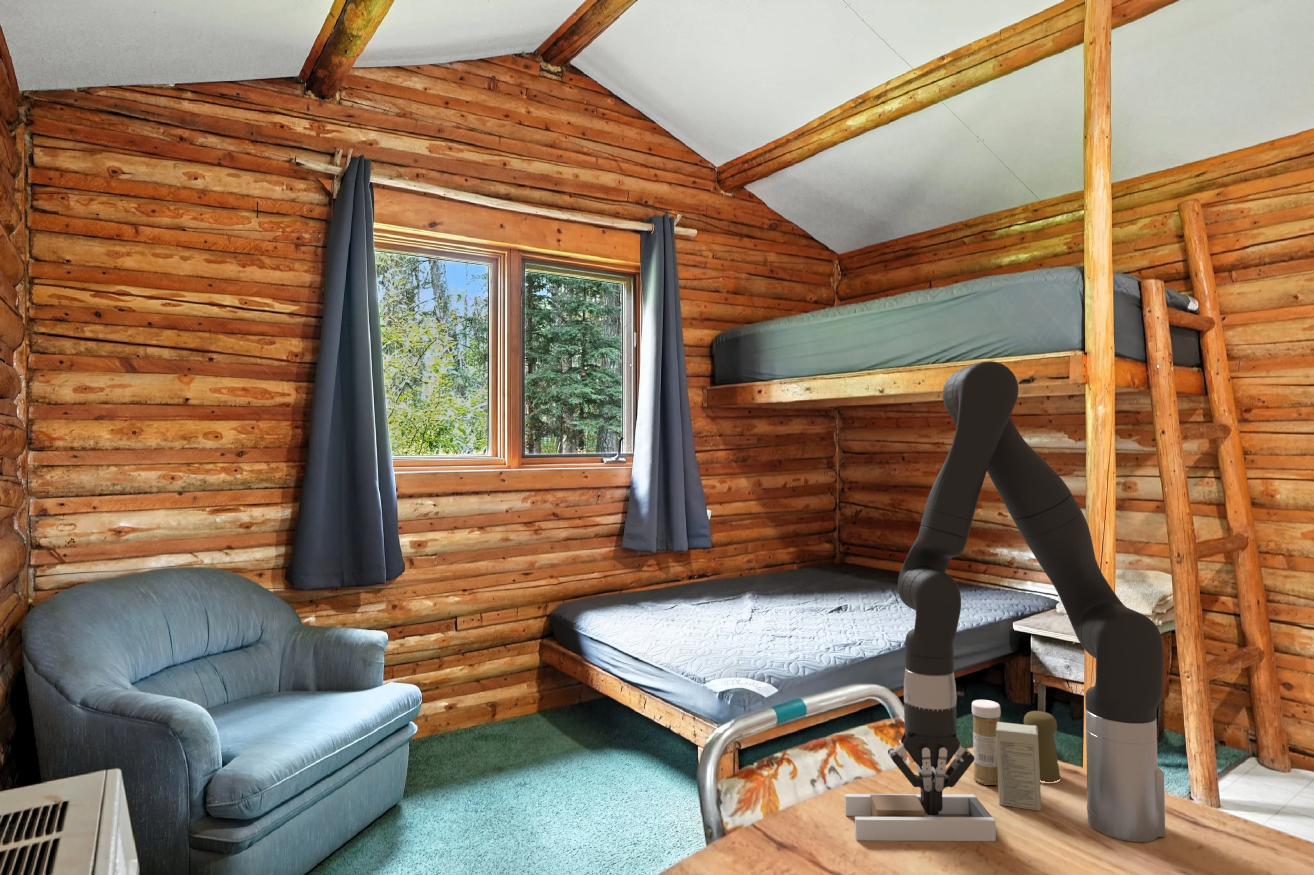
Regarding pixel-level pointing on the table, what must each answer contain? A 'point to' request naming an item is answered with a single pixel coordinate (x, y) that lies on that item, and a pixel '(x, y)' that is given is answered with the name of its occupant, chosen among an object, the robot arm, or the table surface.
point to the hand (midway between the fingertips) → (931, 812)
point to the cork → (1045, 744)
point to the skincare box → (1018, 765)
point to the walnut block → (896, 806)
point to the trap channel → (924, 821)
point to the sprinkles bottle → (985, 741)
